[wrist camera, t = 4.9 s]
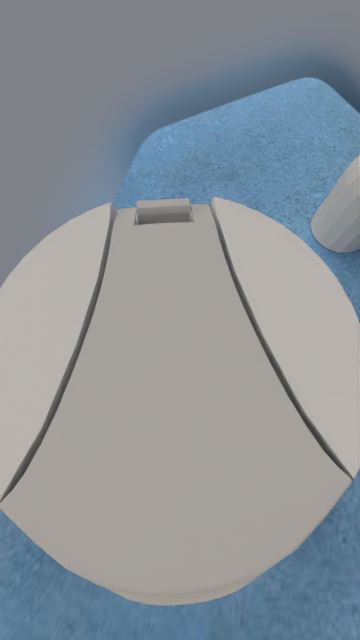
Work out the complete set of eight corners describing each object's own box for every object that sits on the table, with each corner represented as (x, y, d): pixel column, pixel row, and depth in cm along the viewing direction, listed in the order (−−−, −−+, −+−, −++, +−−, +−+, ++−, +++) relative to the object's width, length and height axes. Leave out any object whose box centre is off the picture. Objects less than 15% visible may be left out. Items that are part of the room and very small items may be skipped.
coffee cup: (124, 340, 20) (-16, 182, 6) (225, 334, 20) (334, 164, 6) (123, 456, 17) (-152, 708, 3) (240, 448, 17) (510, 651, 3)
